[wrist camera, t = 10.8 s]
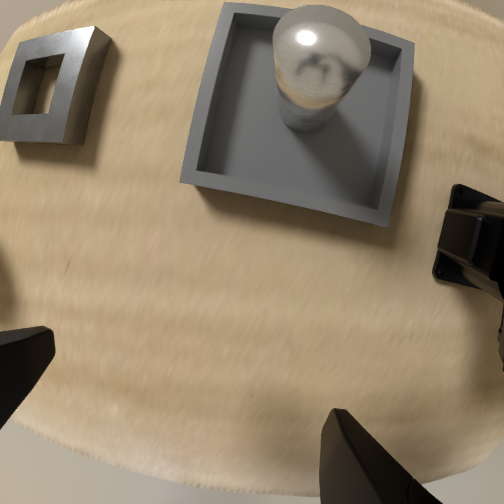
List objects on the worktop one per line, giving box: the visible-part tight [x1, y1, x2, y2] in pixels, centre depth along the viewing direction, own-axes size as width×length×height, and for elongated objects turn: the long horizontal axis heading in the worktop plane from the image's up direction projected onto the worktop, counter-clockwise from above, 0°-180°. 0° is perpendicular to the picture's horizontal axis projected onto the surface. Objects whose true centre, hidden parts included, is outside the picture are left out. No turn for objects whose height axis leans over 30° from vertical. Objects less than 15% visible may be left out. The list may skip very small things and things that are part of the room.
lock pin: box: [273, 5, 371, 133], centre depth 12 cm, size 3×3×9 cm
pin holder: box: [0, 26, 111, 146], centre depth 17 cm, size 9×9×2 cm
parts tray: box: [179, 2, 415, 228], centre depth 16 cm, size 12×12×2 cm
